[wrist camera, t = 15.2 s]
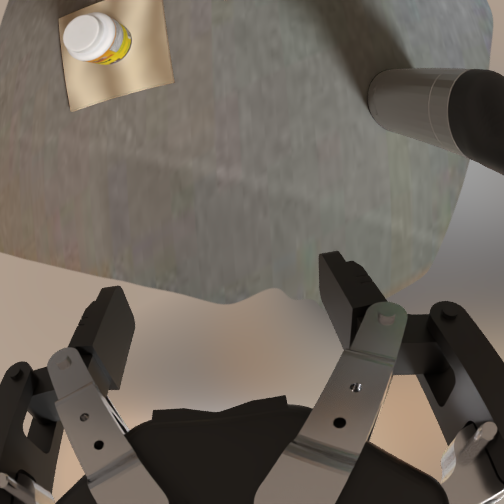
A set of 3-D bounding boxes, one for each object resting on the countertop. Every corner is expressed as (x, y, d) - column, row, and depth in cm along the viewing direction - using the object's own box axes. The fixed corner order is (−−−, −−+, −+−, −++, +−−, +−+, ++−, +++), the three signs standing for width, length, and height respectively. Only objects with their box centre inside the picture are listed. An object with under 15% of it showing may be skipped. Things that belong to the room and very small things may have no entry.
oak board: (161, -14, 27) (159, -16, 27) (174, 82, 34) (173, 82, 33) (61, 19, 27) (58, 18, 26) (73, 111, 34) (70, 111, 33)
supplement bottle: (86, 61, 30) (47, 55, 21) (101, 22, 28) (67, 4, 19) (124, 69, 32) (93, 63, 23) (140, 29, 29) (115, 10, 20)
